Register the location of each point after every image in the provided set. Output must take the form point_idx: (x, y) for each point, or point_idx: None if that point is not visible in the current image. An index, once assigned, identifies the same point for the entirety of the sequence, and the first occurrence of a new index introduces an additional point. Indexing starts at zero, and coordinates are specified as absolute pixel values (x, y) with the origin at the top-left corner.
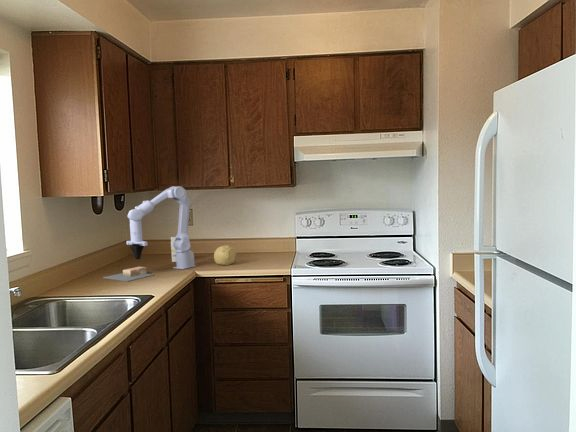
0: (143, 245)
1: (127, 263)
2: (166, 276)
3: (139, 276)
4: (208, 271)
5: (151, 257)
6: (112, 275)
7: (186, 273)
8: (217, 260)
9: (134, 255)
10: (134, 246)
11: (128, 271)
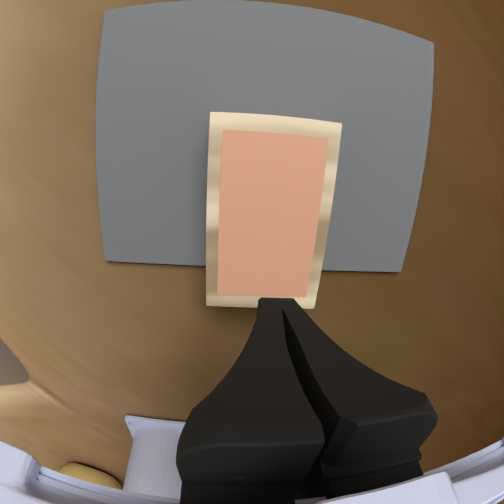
0: (17, 455)
1: (501, 382)
2: (20, 262)
3: (147, 158)
4: (8, 391)
5: (455, 452)
6: (423, 114)
7: (22, 350)
8: (78, 474)
9: (308, 322)
10: (230, 440)
11: (240, 113)
